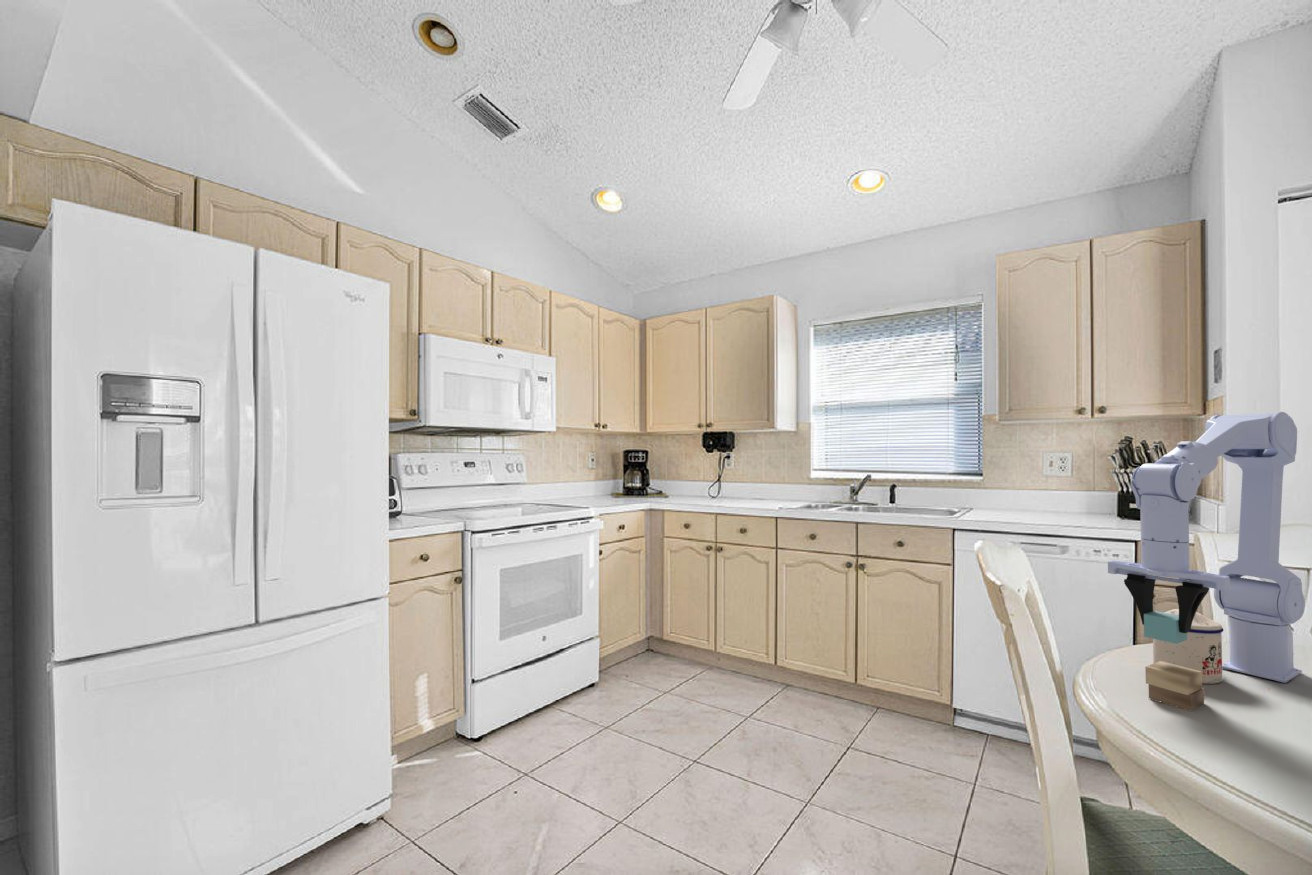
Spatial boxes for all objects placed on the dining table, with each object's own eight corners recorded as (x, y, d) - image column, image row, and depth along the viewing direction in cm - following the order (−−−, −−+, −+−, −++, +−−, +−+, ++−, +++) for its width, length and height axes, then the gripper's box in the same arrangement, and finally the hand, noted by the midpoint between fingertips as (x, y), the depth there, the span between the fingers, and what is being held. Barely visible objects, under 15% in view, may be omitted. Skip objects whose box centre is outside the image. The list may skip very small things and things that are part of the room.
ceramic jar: (1218, 689, 93) (1217, 615, 93) (1145, 672, 100) (1144, 603, 100) (1232, 672, 100) (1231, 603, 100) (1163, 657, 107) (1162, 593, 108)
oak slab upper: (1160, 677, 92) (1160, 661, 92) (1202, 688, 88) (1201, 671, 88) (1145, 683, 90) (1145, 666, 90) (1187, 695, 85) (1187, 677, 85)
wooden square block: (1161, 693, 92) (1161, 677, 92) (1204, 705, 88) (1203, 688, 88) (1148, 700, 89) (1148, 683, 89) (1191, 713, 85) (1191, 695, 85)
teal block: (1155, 632, 94) (1154, 610, 94) (1187, 639, 91) (1186, 616, 91) (1144, 636, 92) (1143, 614, 92) (1176, 643, 89) (1176, 620, 89)
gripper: (1098, 535, 96) (1099, 619, 96) (1216, 548, 84) (1218, 645, 83) (1118, 533, 100) (1119, 614, 99) (1234, 545, 87) (1236, 637, 87)
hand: (1165, 627), depth 92 cm, fingers closed on teal block, 4 cm apart
